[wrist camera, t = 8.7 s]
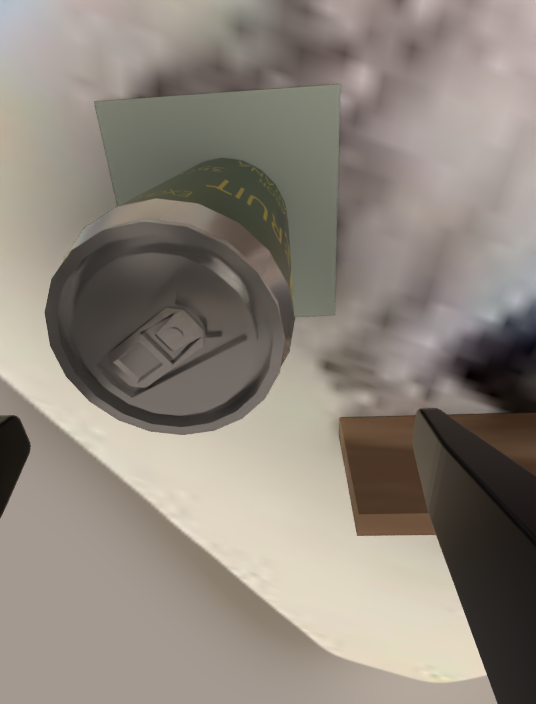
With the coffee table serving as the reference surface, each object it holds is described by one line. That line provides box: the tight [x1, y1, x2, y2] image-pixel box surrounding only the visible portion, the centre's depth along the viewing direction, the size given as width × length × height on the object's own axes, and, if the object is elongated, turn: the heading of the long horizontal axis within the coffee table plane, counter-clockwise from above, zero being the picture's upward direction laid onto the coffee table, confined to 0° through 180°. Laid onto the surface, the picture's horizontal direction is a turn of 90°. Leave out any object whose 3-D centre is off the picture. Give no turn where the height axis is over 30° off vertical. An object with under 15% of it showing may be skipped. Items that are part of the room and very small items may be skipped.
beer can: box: [45, 158, 295, 435], centre depth 14 cm, size 5×5×12 cm
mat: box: [94, 84, 340, 317], centre depth 19 cm, size 10×10×1 cm
